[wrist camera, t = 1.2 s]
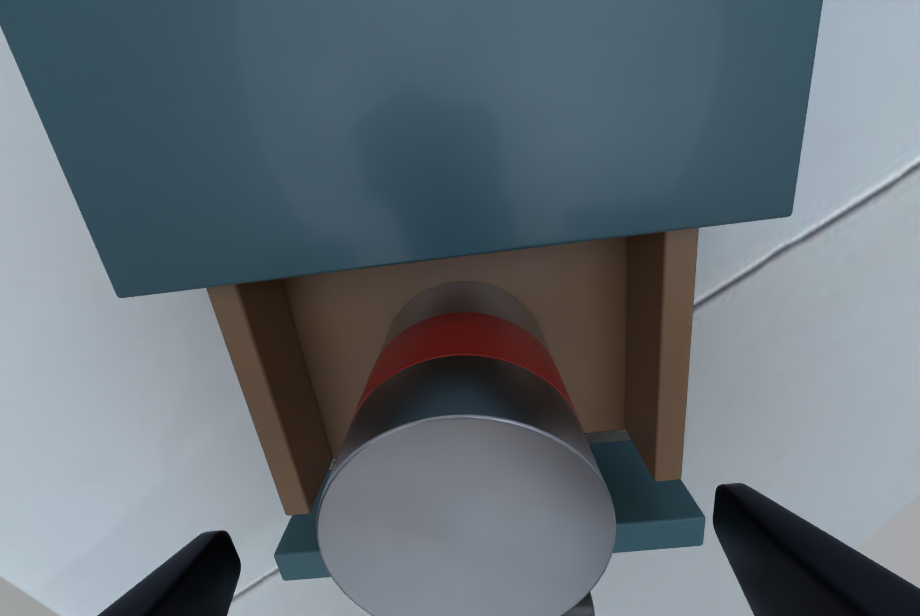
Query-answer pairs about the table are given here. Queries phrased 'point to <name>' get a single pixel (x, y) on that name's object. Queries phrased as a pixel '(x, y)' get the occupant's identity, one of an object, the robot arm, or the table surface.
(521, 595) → the can
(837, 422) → the table surface
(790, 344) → the table surface
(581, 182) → the cabinet
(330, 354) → the drawer
